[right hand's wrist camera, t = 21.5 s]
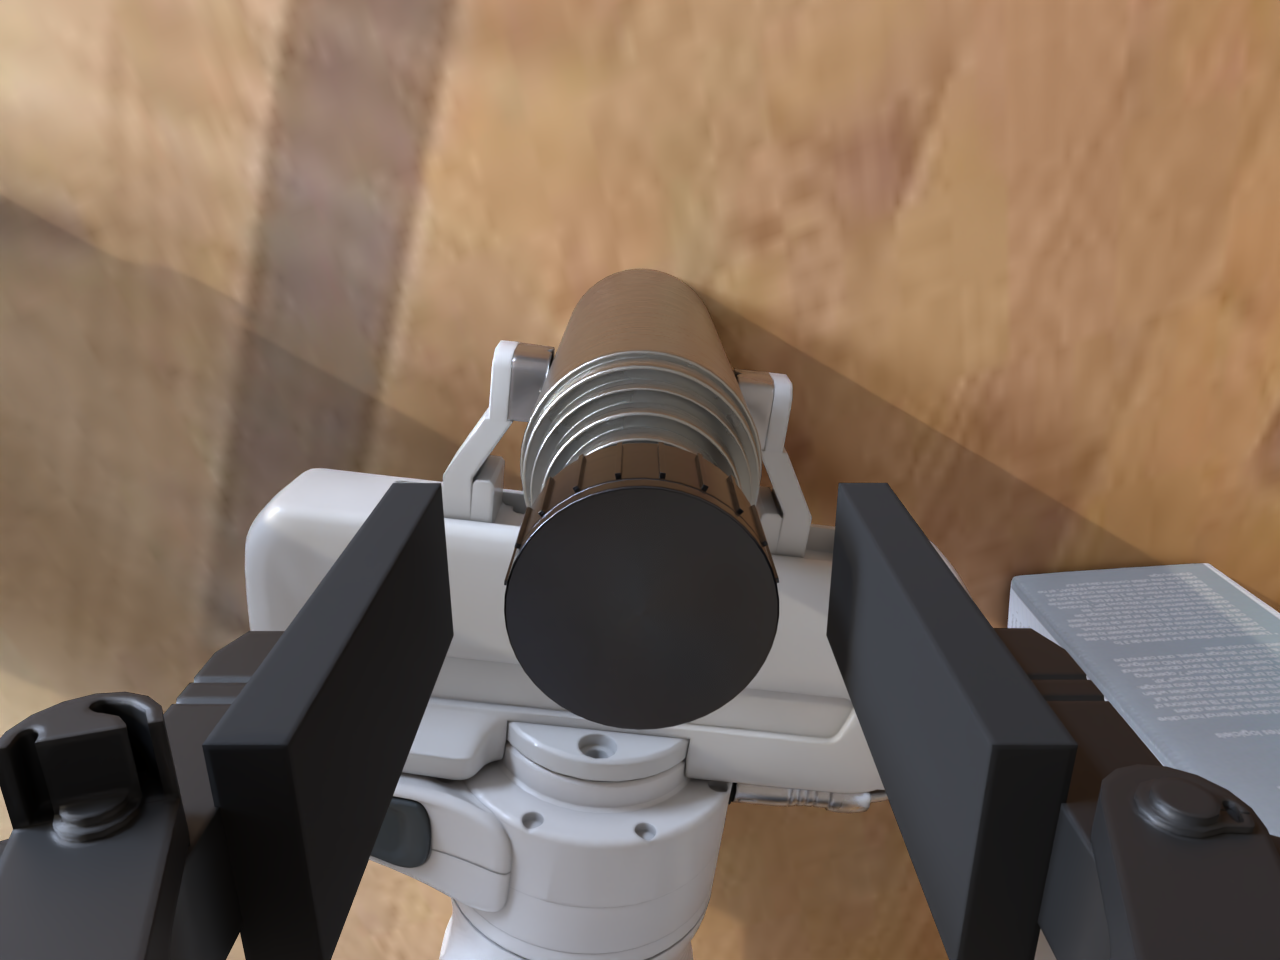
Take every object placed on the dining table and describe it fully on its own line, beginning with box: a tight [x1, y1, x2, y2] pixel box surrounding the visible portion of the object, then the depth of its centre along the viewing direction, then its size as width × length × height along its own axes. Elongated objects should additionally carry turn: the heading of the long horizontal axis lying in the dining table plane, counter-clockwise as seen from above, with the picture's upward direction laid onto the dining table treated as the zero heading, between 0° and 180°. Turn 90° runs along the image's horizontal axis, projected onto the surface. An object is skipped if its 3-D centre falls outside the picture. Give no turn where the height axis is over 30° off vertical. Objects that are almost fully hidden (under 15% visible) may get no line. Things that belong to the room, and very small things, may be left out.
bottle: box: [520, 269, 762, 508], centre depth 22 cm, size 5×5×18 cm
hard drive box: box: [1008, 563, 1280, 960], centre depth 26 cm, size 16×8×20 cm, turn 5°
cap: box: [504, 442, 779, 730], centre depth 14 cm, size 4×4×2 cm
